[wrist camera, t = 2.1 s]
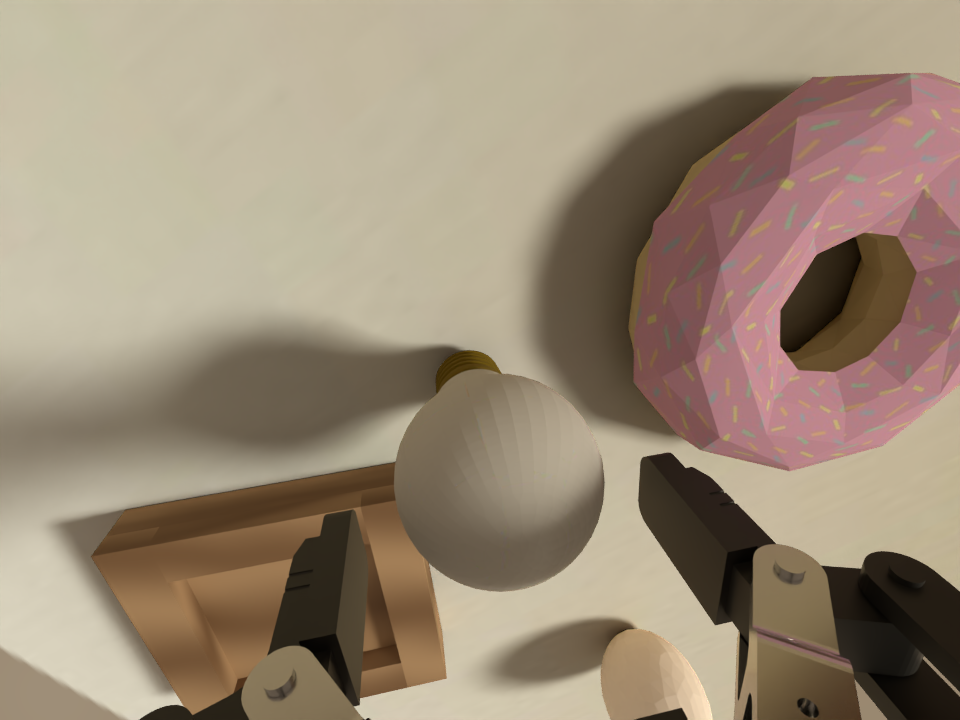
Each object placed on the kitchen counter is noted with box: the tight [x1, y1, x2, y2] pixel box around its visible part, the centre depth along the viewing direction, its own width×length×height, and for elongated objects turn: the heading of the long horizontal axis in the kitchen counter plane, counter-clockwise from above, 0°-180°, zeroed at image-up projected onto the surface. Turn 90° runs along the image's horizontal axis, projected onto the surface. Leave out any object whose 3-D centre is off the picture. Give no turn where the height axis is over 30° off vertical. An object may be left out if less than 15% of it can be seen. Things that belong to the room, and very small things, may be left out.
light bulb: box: [394, 350, 604, 592], centre depth 15 cm, size 6×6×10 cm
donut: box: [628, 73, 960, 471], centre depth 18 cm, size 16×15×5 cm
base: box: [91, 463, 447, 715], centre depth 22 cm, size 12×12×2 cm
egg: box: [601, 629, 713, 720], centre depth 26 cm, size 5×5×8 cm
